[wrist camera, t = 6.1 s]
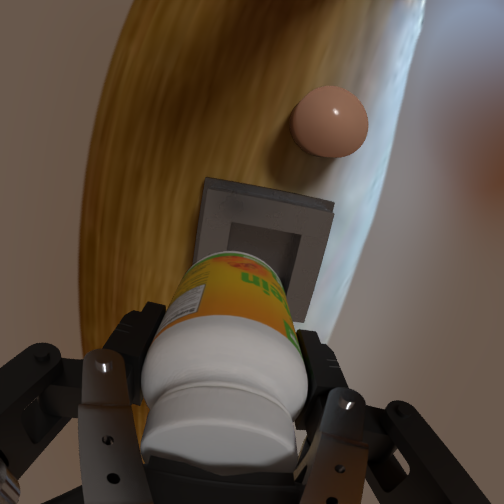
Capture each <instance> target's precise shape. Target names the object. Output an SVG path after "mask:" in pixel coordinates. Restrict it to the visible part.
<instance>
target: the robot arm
mask: <svg viewBox="0 0 504 504" xmlns="http://www.w3.org/2000/svg"><path fill="white" fill-rule="evenodd" d="M165 313H166V306H165V305H162V304H157V303H153V302H147V303H146V305H145V307H144V308H143V310H142V311H141V312H139V311H135V310H133V311H131V312H130V313H128V314H126V315H124V317H123V318H122V320H121V321H120V324H118V326H117V327H116V330H114V331H113V333H112V334H111V336H110V337H109V339H108V340H107V342H106V343H105V345H104V346H103V348H102V349H96V350H93V351H90V352H89V353H87V354H86V355H85V357H84V359H81V360H78V359H66V358H61V353H60V351H59V349H58V348H56V347H55V346H54V345H52V344H48V343H36V344H33V345H31V346H29V347H28V348H26V349H25V350H24V351H22V352H21V353H20V354H18V355H17V356H16V357H14V358H13V359H12V360H10V361H9V362H8V363H6V364H5V365H4V366H3V367H1V368H0V504H17V503H18V501H19V496H20V486H19V483H18V480H19V478H20V477H21V476H22V475H23V474H24V472H25V471H26V470H27V469H28V468H29V467H30V465H31V464H32V463H33V462H34V461H35V460H36V458H37V457H38V456H39V455H40V454H41V453H42V452H43V450H44V449H45V448H46V447H47V446H48V445H49V443H50V442H51V441H52V440H53V439H54V438H55V437H56V435H57V434H58V433H59V432H60V431H61V430H62V429H63V427H64V426H65V425H66V424H67V423H68V422H69V421H70V420H71V418H78V437H79V456H80V469H81V479H82V485H81V486H79V487H77V488H75V489H72V490H71V491H68V492H66V493H64V494H62V495H60V496H58V497H55V498H53V499H51V500H49V501H46V502H44V503H41V504H361V500H362V494H363V488H364V482H365V479H366V480H367V482H368V484H369V486H370V487H371V489H372V491H373V493H374V494H375V496H376V498H377V499H378V501H379V503H380V504H491V503H490V502H489V500H488V499H487V498H486V496H485V495H484V494H483V492H482V491H481V490H480V489H479V487H478V486H477V485H476V483H475V482H474V481H473V480H472V478H471V477H470V476H469V474H468V473H467V472H466V471H465V469H464V468H463V467H462V466H461V464H460V463H459V462H458V461H457V459H456V458H455V457H454V456H453V454H452V453H451V452H450V451H449V449H448V448H447V447H446V446H445V444H444V443H443V442H442V441H441V439H440V438H439V437H438V436H437V434H436V433H435V432H434V431H433V430H432V428H431V427H430V426H429V425H428V424H427V422H426V421H425V420H424V419H423V417H421V415H420V414H419V412H418V411H417V410H416V409H415V408H414V407H413V406H412V405H410V404H409V403H407V402H404V401H399V400H396V401H392V402H390V403H389V404H388V405H387V407H386V408H385V409H380V408H376V407H372V406H368V405H366V402H365V400H364V398H363V397H362V396H361V395H360V394H359V393H358V392H356V391H354V390H352V389H349V388H348V385H347V383H346V380H345V378H344V376H343V373H342V371H341V368H339V367H340V366H339V364H338V362H337V359H336V356H335V354H334V352H333V351H332V350H331V349H330V348H329V347H328V346H327V345H326V344H321V342H320V340H319V337H318V335H317V332H316V331H308V330H301V329H298V330H297V332H296V336H297V339H298V343H299V347H300V350H301V354H302V357H303V361H304V365H305V369H306V374H307V380H308V391H307V398H306V401H305V404H304V407H303V409H302V411H301V413H300V414H299V416H298V417H297V418H296V420H295V426H296V430H306V432H307V436H306V438H305V439H304V441H303V444H302V447H301V450H300V452H299V455H298V462H297V466H296V469H295V471H294V472H293V473H277V472H254V473H246V474H238V475H228V476H222V475H218V474H215V473H212V472H209V471H206V470H203V469H201V468H198V467H195V466H193V465H190V464H188V463H185V462H179V461H174V460H170V459H165V458H160V457H156V456H152V455H150V458H149V462H148V464H143V462H142V458H141V453H140V449H139V444H138V439H137V434H136V429H135V424H134V419H133V413H132V407H131V405H132V404H136V405H139V406H140V405H141V402H142V399H143V397H144V396H143V393H142V388H141V371H142V366H143V363H144V360H145V357H146V354H147V352H148V349H149V347H150V345H151V343H152V341H153V338H154V337H155V334H156V332H157V330H158V328H159V326H160V324H161V322H162V320H163V317H164V315H165ZM35 398H36V399H35ZM34 399H35V400H34ZM33 400H34V401H33ZM32 401H33V402H32ZM31 402H32V403H31ZM30 403H31V404H30ZM397 448H398V449H399V451H400V452H401V454H402V455H403V457H404V458H405V460H406V461H407V463H408V464H409V467H410V473H409V475H407V474H406V472H405V471H404V469H403V468H402V467H401V465H400V463H399V462H398V461H397V459H396V458H395V456H394V455H393V453H394V452H395V451H396V449H397Z"/></svg>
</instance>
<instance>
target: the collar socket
mask: <svg viewBox="0 0 504 504" xmlns="http://www.w3.org/2000/svg"><path fill="white" fill-rule="evenodd" d="M334 204H335V203H334V202H332V201H328V200H323V199H319V198H314V197H310V196H305V195H301V194H296V193H291V192H286V191H281V190H276V189H271V188H266V187H261V186H256V185H250V184H245V183H239V182H234V181H228V180H222V179H216V178H210V177H206V178H205V184H204V190H203V196H202V202H201V209H200V215H199V222H198V229H197V236H196V243H195V250H194V258H193V265H194V264H195V263H196V262H198V261H199V260H201V259H202V258H204V257H206V256H209V255H211V254H214V253H218V252H223V251H238V252H244V253H247V254H250V255H253V256H255V257H257V258H259V259H261V260H262V261H264V262H265V263H266V264H268V265H269V266H270V267H271V268H272V269H273V270H274V272H275V273H276V274H277V276H278V277H279V279H280V281H281V283H282V286H283V288H284V292H285V295H286V299H287V303H288V307H289V310H290V314H291V318H292V321H293V322H301V323H304V321H305V318H306V314H307V311H308V308H309V305H310V301H311V298H312V295H313V291H314V288H315V284H316V281H317V277H318V274H319V270H320V267H321V263H322V260H323V256H324V252H325V248H326V245H327V241H328V237H329V233H330V229H331V225H332V221H333V217H334V213H333V208H334Z"/></svg>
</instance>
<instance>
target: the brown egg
mask: <svg viewBox="0 0 504 504" xmlns="http://www.w3.org/2000/svg"><path fill="white" fill-rule="evenodd" d="M289 126H290V132H291V135H292V137H293V139H294V141H295V143H296V144H297V145H298V146H299V147H300V148H301V149H302V150H303V151H305V152H306V153H308V154H310V155H313V156H318V157H334V158H338V157H345V156H348V155H350V154H352V153H354V152H355V151H356V150H358V149H359V148H360V147H361V145H362V144H363V142H364V141H365V139H366V136H367V132H368V117H367V114H366V111H365V109H364V107H363V105H362V104H361V102H360V101H359V100H358V99H357V97H355V96H354V95H353V94H352V93H350V92H349V91H347V90H345V89H343V88H340V87H336V86H324V87H319V88H316V89H314V90H312V91H311V92H309V93H308V94H307V95H306V96H305V97H304V98H303V99H302V100H301V101H300V102H299V103H298V104H297V105H296V106H295V107H294V109H293V111H292V113H291V116H290V122H289Z"/></svg>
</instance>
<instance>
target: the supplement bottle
mask: <svg viewBox="0 0 504 504" xmlns="http://www.w3.org/2000/svg"><path fill="white" fill-rule="evenodd" d="M141 388H142V393H143V396H144V399H145V401H146V403H147V406H148V407H149V409H150V412H149V414H148V416H147V421H146V425H145V429H144V433H143V436H142V440H141V447H140V450H141V455H142V458H143V460H144V462H145V464H148V462H149V458H150V455H152V456H156V457H160V458H165V459H170V460H174V461H179V462H185V463H188V464H190V465H193V466H195V467H198V468H201V469H203V470H206V471H209V472H212V473H215V474H218V475H222V476H228V475H238V474H246V473H254V472H277V473H293V472H294V471H295V469H296V466H297V462H298V454H297V446H296V438H295V432H294V426H293V422H294V421H295V420H296V418H297V417H298V416H299V414H300V413H301V411H302V409H303V407H304V404H305V401H306V398H307V391H308V380H307V374H306V369H305V365H304V361H303V357H302V354H301V350H300V347H299V343H298V339H297V336H296V332H295V329H294V325H293V321H292V318H291V314H290V310H289V307H288V303H287V299H286V295H285V292H284V288H283V286H282V283H281V281H280V279H279V277H278V276H277V274H276V273H275V272H274V270H273V269H272V268H271V267H270V266H269V265H268V264H266V263H265V262H264V261H262V260H261V259H259V258H257V257H255V256H253V255H250V254H247V253H244V252H238V251H223V252H218V253H214V254H211V255H209V256H206V257H204V258H202V259H201V260H199V261H198V262H196V263H195V264H194V265H193V266H192V267H191V268H190V269H189V270H188V271H187V273H186V274H185V276H184V277H183V279H182V280H181V282H180V284H179V286H178V288H177V290H176V292H175V294H174V296H173V298H172V301H171V303H170V305H169V307H168V309H167V311H166V313H165V315H164V317H163V320H162V322H161V324H160V326H159V328H158V330H157V332H156V334H155V337H154V338H153V341H152V343H151V345H150V347H149V349H148V352H147V354H146V357H145V360H144V363H143V366H142V371H141Z"/></svg>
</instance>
